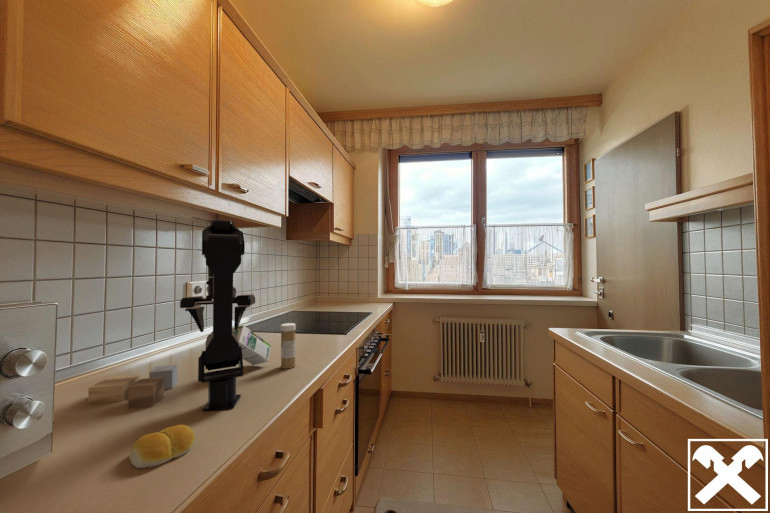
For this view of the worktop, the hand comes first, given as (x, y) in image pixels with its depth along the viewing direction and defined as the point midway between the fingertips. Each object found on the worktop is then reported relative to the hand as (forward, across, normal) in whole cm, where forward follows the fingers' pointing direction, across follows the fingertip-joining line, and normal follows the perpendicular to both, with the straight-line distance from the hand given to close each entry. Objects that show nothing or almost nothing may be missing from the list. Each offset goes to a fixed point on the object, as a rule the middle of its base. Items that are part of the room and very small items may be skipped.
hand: (219, 330), depth 89 cm
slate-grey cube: (+13, +12, +4) cm, 19 cm away
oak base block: (+14, +21, +9) cm, 27 cm away
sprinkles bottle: (+14, -18, -6) cm, 24 cm away
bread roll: (+14, -4, +37) cm, 40 cm away
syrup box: (+11, -10, -10) cm, 18 cm away
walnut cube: (+14, +11, +14) cm, 23 cm away
